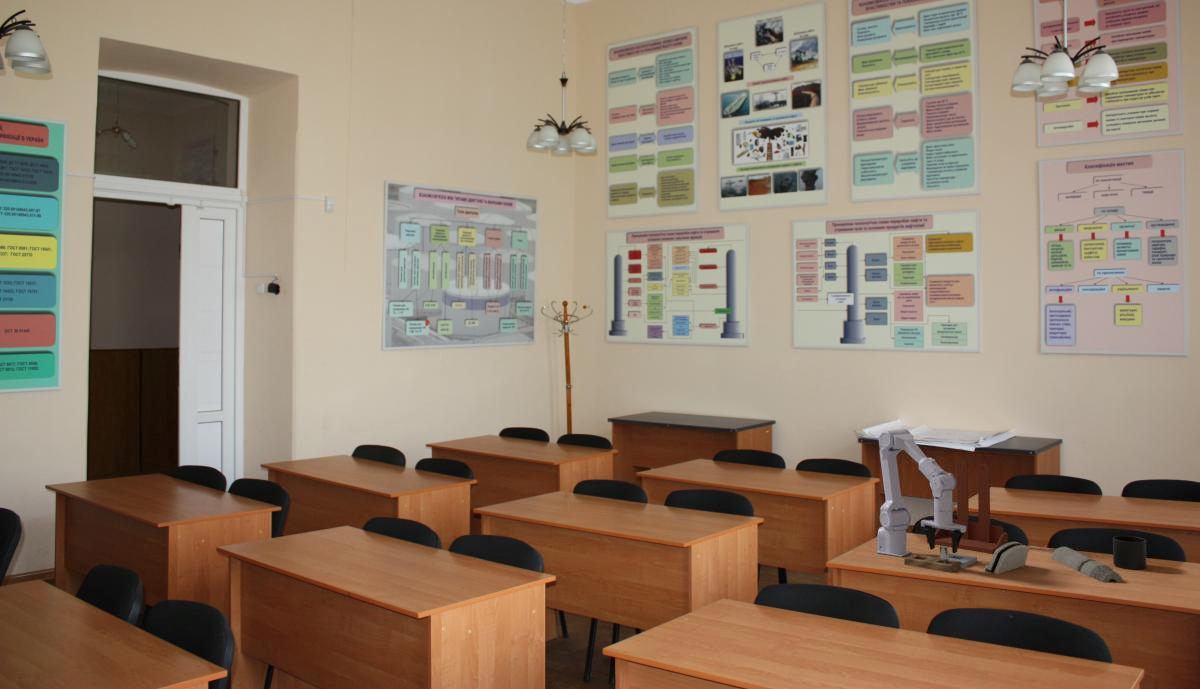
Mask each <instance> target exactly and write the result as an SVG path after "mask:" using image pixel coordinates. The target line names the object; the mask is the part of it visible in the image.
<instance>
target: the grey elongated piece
mask: <svg viewBox="0 0 1200 689" xmlns="http://www.w3.org/2000/svg"><path fill="white" fill-rule="evenodd" d="M1050 558H1051V559H1052V560H1054V561H1056V562H1058V563H1060V564H1062V565H1064V566H1067V567H1068V568H1070V569H1072V570H1074V571H1076V572H1079V573H1080V574H1082V575H1084V576H1086V577H1088V578H1093V579H1095V580H1097V581H1099V582H1101V583H1110V580H1112V581H1114V582H1117V583H1118V582H1119V583H1120V582H1124V580H1123V577H1122V576H1121V575H1120V574H1119V573H1117V572H1116V571H1114V569H1113V568H1111V567H1110V566H1109V565H1106V564H1105V563H1103V562H1100V561H1097V560H1096V559H1094V558H1092V557H1089V556H1087V555H1085V554H1083V553H1081V552H1079V551H1076V550H1074V549H1073V548H1070V547H1067V546H1060V547H1058V548H1056V549H1055V550H1053V552H1052V555H1051V557H1050Z"/></svg>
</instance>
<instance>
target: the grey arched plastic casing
mask: <svg viewBox="0 0 1200 689" xmlns="http://www.w3.org/2000/svg"><path fill="white" fill-rule="evenodd" d="M1028 555H1029V547H1028V546H1026V545H1024V544H1023V543H1020V542H1017V541H1010V542H1008V543H1007V544H1004V545H1002V546H1001V547H999V548H998V549H996V551H995V552H994V553H993V554H992V558H991V560H990V561H989V564H987V565H985V566H984V569H983V571H984V572H987V571H993V573H994V574H995V575H999V574H1002V573H1006V572H1009V571H1012V570H1015V569H1018V568H1021V567H1024V566H1025V565H1026V563H1027V562H1026V561H1027V558H1028Z"/></svg>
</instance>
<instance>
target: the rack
mask: <svg viewBox="0 0 1200 689" xmlns="http://www.w3.org/2000/svg"><path fill="white" fill-rule="evenodd" d="M937 557H938V556H937ZM937 557H936V556H929V555H923V554H918V553H917V554H916V553H914V554H911V555H909V556H907V557H904V558H903V560H904V563H903V564H904V565H906V566H911V567H916V568H917V567H918V568H924V569H930V570H936V571H941V572H946V573H952V572H954V571H956V570H957V571H958V569H959V570H960V569H961V568H962V567H961V561H955V560H949V559H948V564H944V563H940V558H937Z"/></svg>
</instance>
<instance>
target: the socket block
mask: <svg viewBox="0 0 1200 689" xmlns="http://www.w3.org/2000/svg"><path fill="white" fill-rule="evenodd" d="M937 558H940V555H939V556H937ZM948 559H949V560H955V561H961V568H966V567H968V566H971V565H972V564H975V563H977V562H978V556H973V555H967V554H962V553H952V552H949V551H948Z"/></svg>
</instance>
